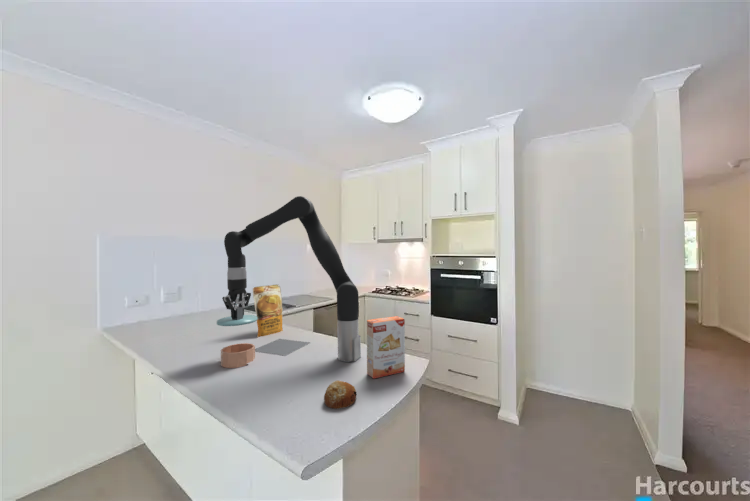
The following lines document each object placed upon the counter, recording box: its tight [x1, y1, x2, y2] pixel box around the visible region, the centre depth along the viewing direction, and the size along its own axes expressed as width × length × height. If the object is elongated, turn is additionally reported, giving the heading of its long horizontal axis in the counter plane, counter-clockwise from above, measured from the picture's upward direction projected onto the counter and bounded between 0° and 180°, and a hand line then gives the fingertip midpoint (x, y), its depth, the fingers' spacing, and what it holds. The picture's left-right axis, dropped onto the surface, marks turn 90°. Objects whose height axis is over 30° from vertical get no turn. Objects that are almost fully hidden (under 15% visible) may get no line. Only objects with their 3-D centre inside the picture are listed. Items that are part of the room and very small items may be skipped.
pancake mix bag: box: [252, 284, 284, 338], centre depth 170 cm, size 7×19×28 cm, turn 141°
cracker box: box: [366, 315, 406, 379], centre depth 115 cm, size 14×6×21 cm, turn 117°
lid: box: [216, 306, 257, 327], centre depth 129 cm, size 16×16×6 cm
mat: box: [255, 338, 311, 357], centre depth 146 cm, size 20×20×1 cm
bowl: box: [220, 342, 256, 369], centre depth 129 cm, size 13×13×6 cm
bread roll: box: [323, 380, 358, 410], centre depth 94 cm, size 10×10×8 cm
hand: (237, 317), depth 129 cm, fingers closed on lid, 3 cm apart
